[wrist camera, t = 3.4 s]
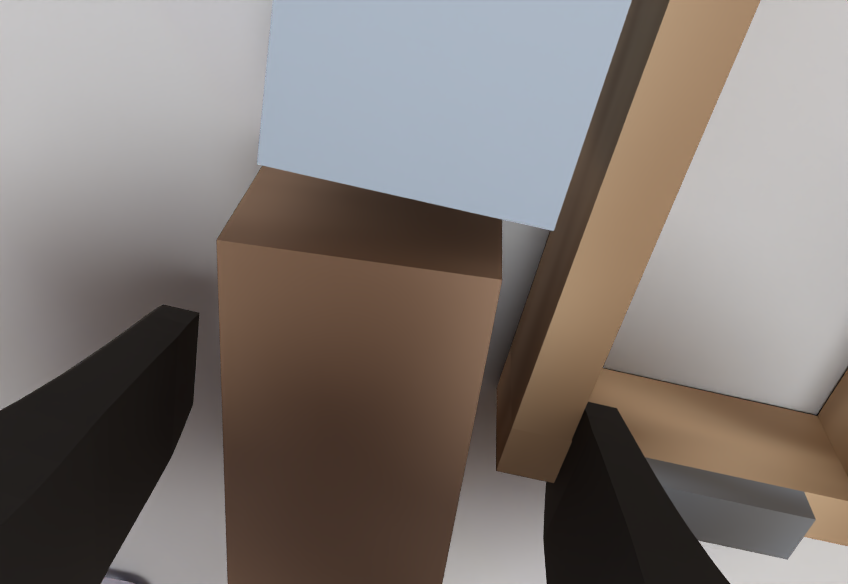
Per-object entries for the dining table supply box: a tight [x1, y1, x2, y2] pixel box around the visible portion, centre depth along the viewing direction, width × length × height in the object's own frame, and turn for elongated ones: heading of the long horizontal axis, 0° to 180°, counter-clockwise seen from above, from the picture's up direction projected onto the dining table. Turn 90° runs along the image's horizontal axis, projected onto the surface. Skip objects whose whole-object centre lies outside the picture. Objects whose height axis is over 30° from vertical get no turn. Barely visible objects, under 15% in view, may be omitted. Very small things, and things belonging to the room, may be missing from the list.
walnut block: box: [217, 166, 502, 584], centre depth 14 cm, size 4×8×4 cm, turn 174°
